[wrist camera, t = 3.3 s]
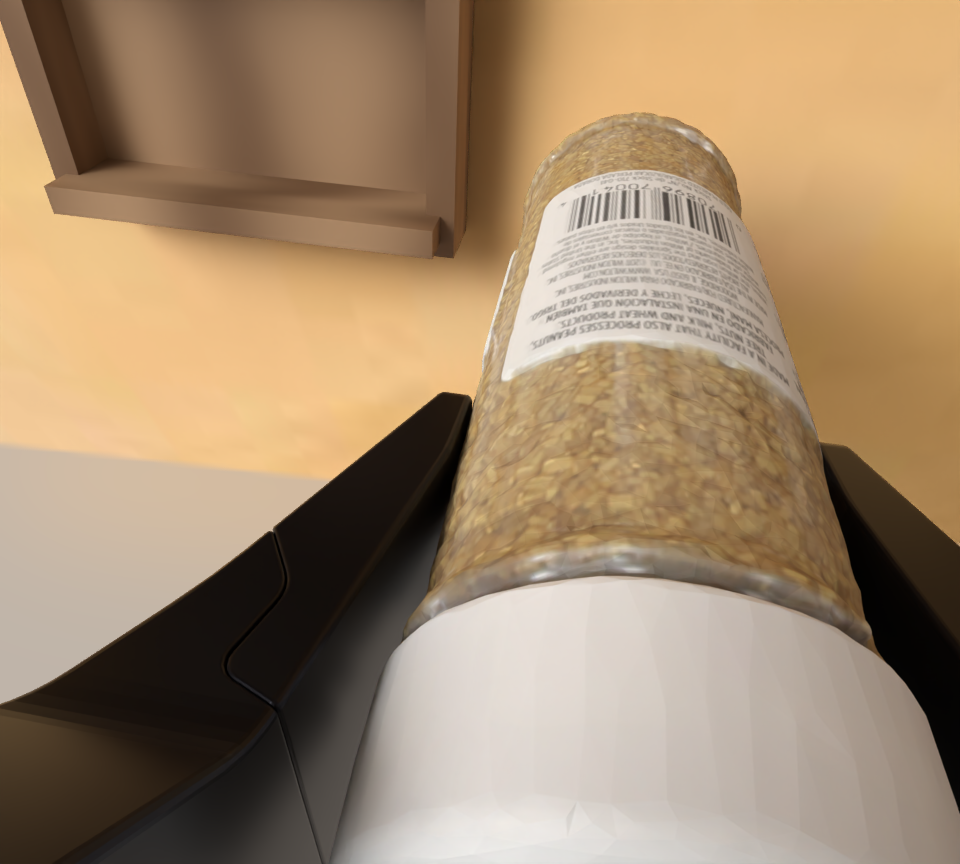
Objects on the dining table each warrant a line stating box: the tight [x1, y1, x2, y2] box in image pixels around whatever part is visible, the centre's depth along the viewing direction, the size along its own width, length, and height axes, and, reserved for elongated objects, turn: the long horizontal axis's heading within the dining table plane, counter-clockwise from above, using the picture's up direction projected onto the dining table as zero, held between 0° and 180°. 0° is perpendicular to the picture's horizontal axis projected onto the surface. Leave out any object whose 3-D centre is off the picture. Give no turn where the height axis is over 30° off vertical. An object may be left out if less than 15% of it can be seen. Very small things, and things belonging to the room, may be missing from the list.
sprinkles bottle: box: [329, 113, 960, 864], centre depth 10 cm, size 5×5×14 cm
